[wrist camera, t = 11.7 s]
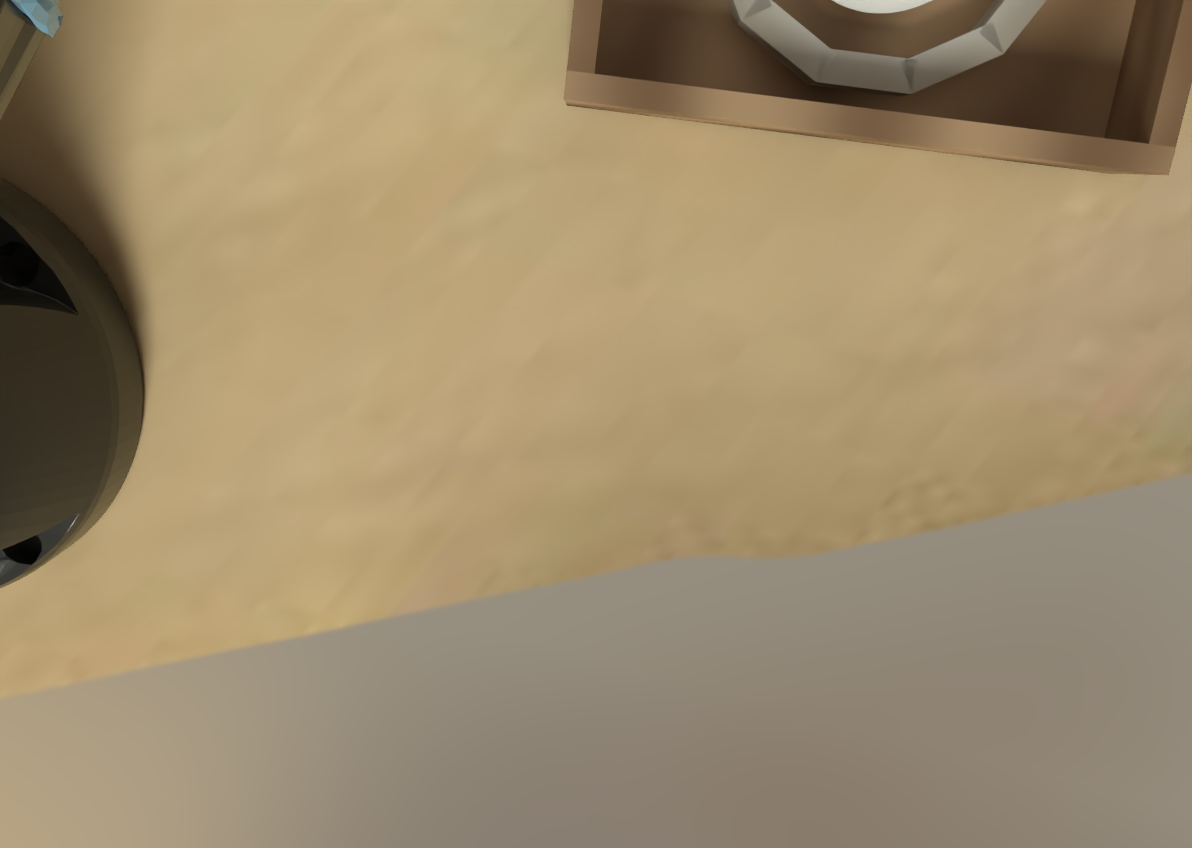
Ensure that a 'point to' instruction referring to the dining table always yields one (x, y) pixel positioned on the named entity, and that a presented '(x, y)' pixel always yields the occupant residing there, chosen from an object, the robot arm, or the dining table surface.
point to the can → (881, 5)
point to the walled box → (904, 73)
